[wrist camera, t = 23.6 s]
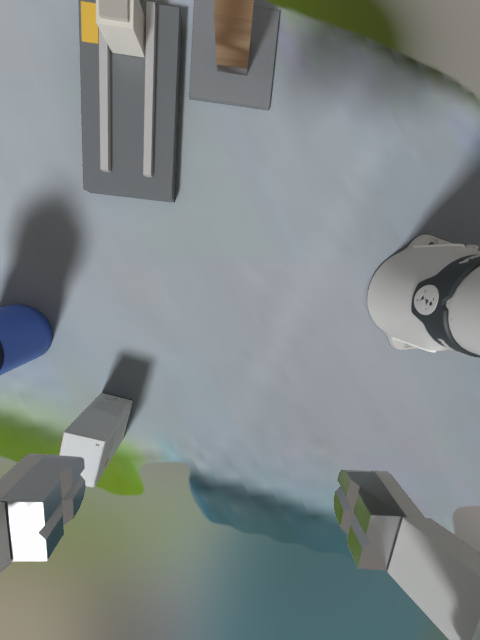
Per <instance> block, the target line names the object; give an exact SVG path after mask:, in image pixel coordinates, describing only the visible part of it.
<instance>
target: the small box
mask: <svg viewBox="0 0 480 640" xmlns="http://www.w3.org/2000/svg"><path fill="white" fill-rule="evenodd" d="M132 403H133V401H132V400H128V399H124V398H120V397H116V396H112V395H108V394H104V393H101V394H100V395H99V396H98V397H97V398H96V399H95V400H94V401H93V402H92V403H91V404H90V405H89V406H88V407H87V408H86V409H85V410H84V411H83V412H82V414H81V415H80V416H79V417H78V418H77V419H76V420H75V421H74V422H73V423H72V424H71V425H70V426H69V427H68V428H67V429H66V430H65V431H64V434H63V439H62V444H61V449H60V454H59V455H62V456H75V457H82V458H83V459H84V464H85V469H84V470H83V471H82V473H81V474H80V475H81V476H82V477H83V479H84V480H85V486H88V487H95V486H96V484H97V482H98V481H99V479H100V477H101V475H102V474H103V472H104V470H105V469H106V467H107V465H108V464H109V462H110V460H111V459H112V457H113V455H114V453H115V452H116V450H117V448H118V447H119V445H120V443H121V442H122V440H123V438H124V434H125V430H126V426H127V422H128V418H129V415H130V410H131V407H132Z"/></svg>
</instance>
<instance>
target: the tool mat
mask: <svg viewBox="0 0 480 640" xmlns="http://www.w3.org/2000/svg"><path fill="white" fill-rule="evenodd" d="M214 1H215V0H194V11H193V31H192V51H191V71H190V91H189V98H190V99H192V100H199V101H206V102H213V103H220V104H227V105H234V106H241V107H248V108H255V109H263V110H269V106H270V96H271V87H272V77H273V68H274V59H275V49H276V40H277V31H278V21H279V12H280V11H279V10H273V9H267V8H261V7H255V6H253V16H252V27H251V37H250V48H249V58H248V68H247V76H245V75H239V74H232V73H225V72H218V71H217V61H216V44H215V27H214Z"/></svg>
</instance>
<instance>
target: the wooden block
mask: <svg viewBox="0 0 480 640" xmlns="http://www.w3.org/2000/svg"><path fill="white" fill-rule="evenodd" d="M253 5H254V0H215V1H214V27H215V44H216V61H217V71H218V72H225V73H232V74H239V75H245V76H247V68H248V58H249V48H250V37H251V27H252V16H253Z"/></svg>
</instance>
